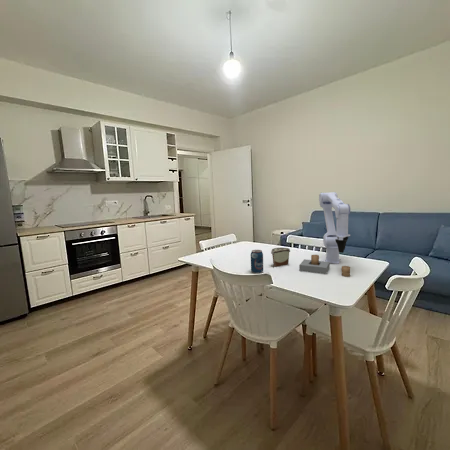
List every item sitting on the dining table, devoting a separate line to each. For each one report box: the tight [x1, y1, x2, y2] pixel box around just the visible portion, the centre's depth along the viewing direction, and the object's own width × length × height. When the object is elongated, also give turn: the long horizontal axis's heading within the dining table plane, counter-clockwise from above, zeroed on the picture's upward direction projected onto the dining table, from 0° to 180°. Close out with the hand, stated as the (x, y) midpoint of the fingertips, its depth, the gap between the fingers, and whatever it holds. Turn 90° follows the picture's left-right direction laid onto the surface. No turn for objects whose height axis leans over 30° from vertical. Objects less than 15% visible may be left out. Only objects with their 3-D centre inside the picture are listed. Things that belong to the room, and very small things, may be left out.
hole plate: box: [298, 259, 331, 275], centre depth 138 cm, size 12×14×4 cm
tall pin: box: [310, 254, 320, 265], centre depth 137 cm, size 4×4×8 cm
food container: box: [270, 247, 291, 268], centre depth 149 cm, size 12×6×10 cm, turn 111°
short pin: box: [340, 265, 351, 278], centre depth 126 cm, size 4×4×4 cm
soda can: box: [250, 249, 264, 274], centre depth 138 cm, size 7×7×12 cm
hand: (341, 251), depth 135 cm, fingers open, 7 cm apart
